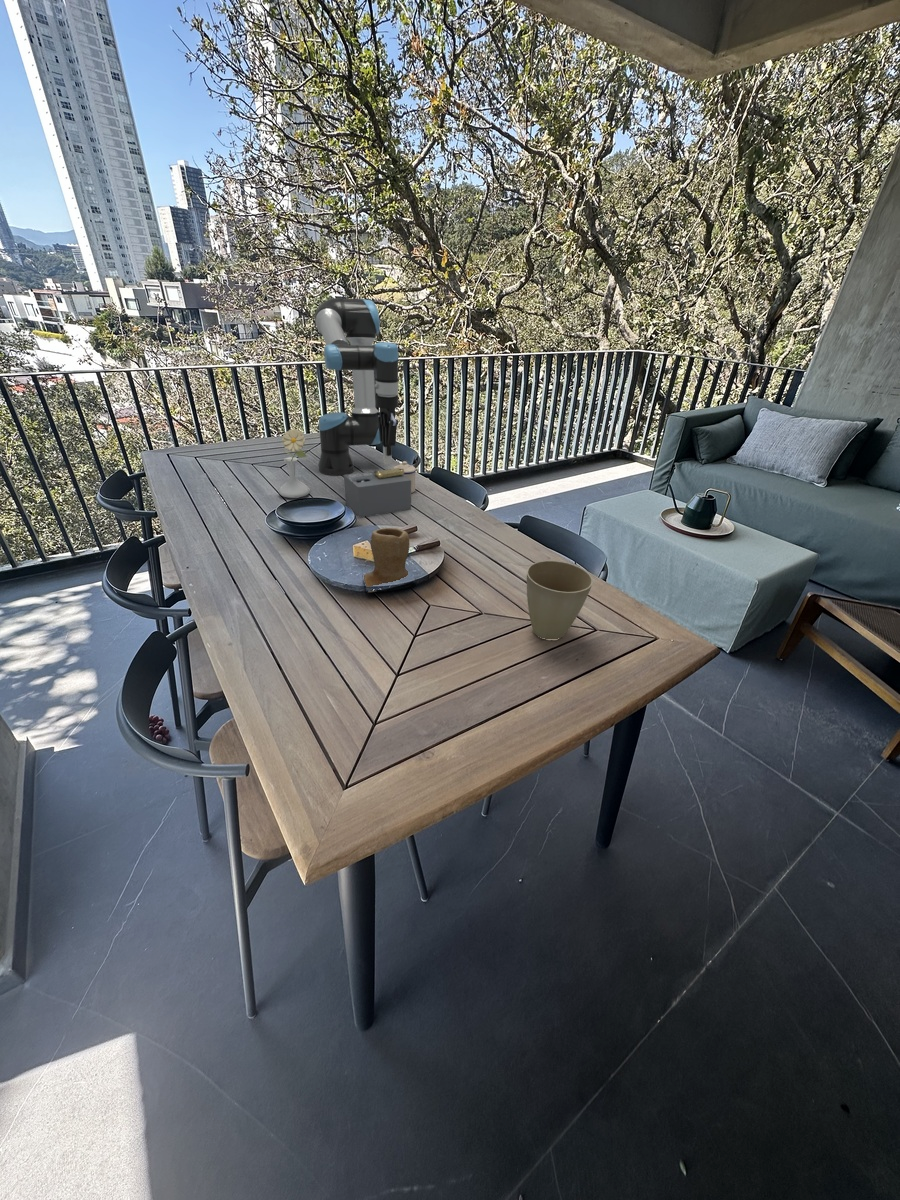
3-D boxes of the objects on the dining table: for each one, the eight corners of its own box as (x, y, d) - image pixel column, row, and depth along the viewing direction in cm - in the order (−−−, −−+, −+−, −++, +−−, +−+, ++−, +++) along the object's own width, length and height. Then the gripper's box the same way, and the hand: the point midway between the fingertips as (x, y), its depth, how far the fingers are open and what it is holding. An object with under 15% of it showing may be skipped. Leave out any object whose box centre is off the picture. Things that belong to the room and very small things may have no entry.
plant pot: (566, 659, 113) (580, 599, 104) (507, 636, 119) (515, 578, 111) (588, 628, 124) (601, 572, 115) (533, 608, 130) (542, 554, 121)
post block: (345, 503, 185) (343, 474, 179) (394, 496, 194) (394, 468, 188) (359, 517, 175) (358, 487, 169) (410, 509, 183) (411, 480, 178)
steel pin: (350, 506, 180) (348, 474, 174) (370, 503, 184) (369, 472, 178) (353, 509, 178) (351, 477, 172) (374, 505, 182) (373, 474, 176)
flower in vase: (272, 497, 187) (262, 428, 173) (291, 488, 196) (283, 422, 182) (301, 503, 183) (294, 434, 169) (319, 494, 192) (313, 427, 179)
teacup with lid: (410, 485, 205) (411, 457, 199) (419, 493, 198) (419, 464, 192) (383, 488, 201) (382, 460, 194) (390, 496, 194) (390, 466, 187)
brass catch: (374, 475, 180) (373, 471, 179) (401, 470, 184) (401, 466, 183) (379, 479, 176) (378, 475, 176) (406, 474, 181) (406, 470, 180)
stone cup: (402, 567, 145) (403, 519, 137) (420, 586, 137) (422, 536, 129) (353, 578, 139) (350, 528, 131) (368, 598, 130) (366, 546, 122)
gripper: (368, 391, 170) (370, 459, 183) (384, 399, 161) (385, 470, 174) (388, 390, 173) (389, 457, 186) (405, 398, 164) (404, 468, 177)
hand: (387, 463), depth 180 cm, fingers closed
